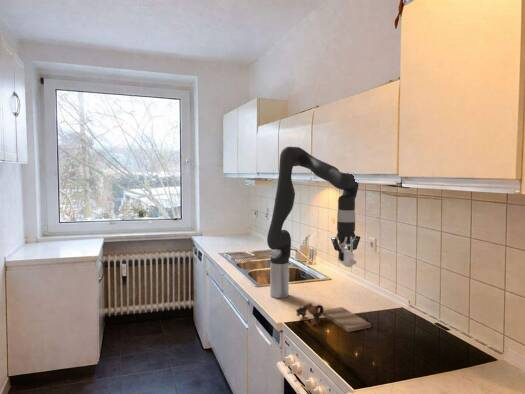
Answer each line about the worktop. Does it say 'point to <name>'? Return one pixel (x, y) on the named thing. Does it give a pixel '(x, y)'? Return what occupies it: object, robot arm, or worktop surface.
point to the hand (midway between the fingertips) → (345, 259)
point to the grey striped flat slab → (346, 319)
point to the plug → (347, 258)
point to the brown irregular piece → (311, 312)
